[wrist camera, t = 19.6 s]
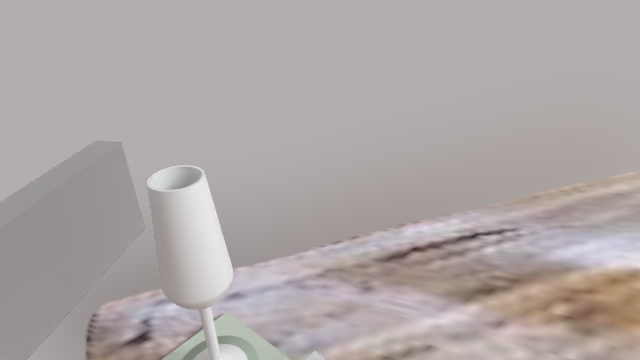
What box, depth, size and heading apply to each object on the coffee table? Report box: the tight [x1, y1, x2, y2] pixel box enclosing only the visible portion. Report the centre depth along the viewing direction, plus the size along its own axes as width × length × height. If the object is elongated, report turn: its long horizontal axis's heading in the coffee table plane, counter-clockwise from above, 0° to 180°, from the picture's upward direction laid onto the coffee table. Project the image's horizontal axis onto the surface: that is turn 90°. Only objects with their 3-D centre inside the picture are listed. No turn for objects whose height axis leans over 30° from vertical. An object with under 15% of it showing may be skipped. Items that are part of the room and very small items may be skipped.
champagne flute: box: [147, 165, 247, 360], centre depth 42 cm, size 7×7×24 cm
